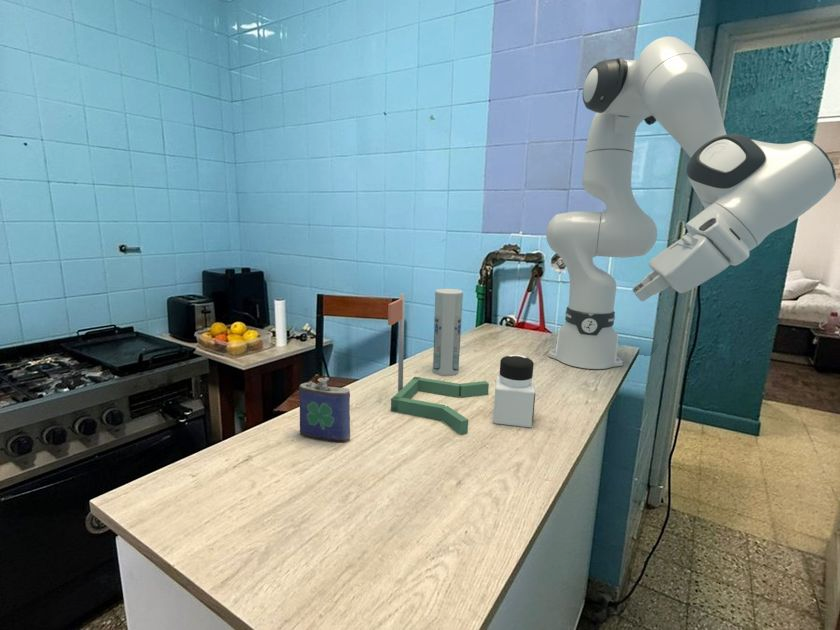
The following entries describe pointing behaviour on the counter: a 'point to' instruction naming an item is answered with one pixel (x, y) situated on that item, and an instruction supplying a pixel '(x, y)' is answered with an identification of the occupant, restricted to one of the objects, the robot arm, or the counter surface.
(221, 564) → the counter surface
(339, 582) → the counter surface
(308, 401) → the flask
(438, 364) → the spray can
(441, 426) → the counter surface
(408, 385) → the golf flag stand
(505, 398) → the medicine bottle
